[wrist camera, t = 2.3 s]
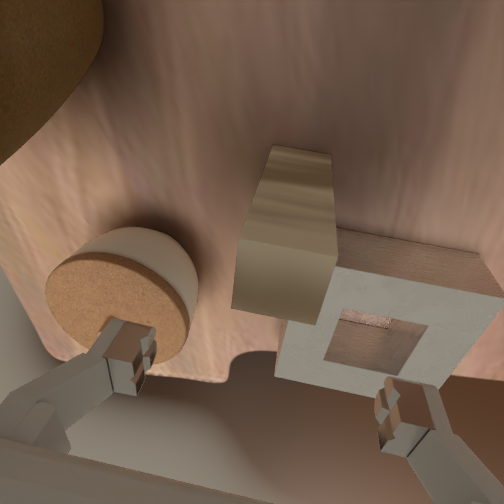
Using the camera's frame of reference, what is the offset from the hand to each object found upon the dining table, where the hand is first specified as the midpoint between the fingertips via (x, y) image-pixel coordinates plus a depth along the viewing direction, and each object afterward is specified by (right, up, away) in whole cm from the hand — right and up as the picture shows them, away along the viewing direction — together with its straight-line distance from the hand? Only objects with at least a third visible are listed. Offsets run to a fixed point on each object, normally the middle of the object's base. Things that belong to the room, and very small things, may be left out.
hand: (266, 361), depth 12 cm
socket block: (+9, 0, +18) cm, 20 cm away
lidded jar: (-9, +3, +19) cm, 22 cm away
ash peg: (+3, +9, +12) cm, 16 cm away
